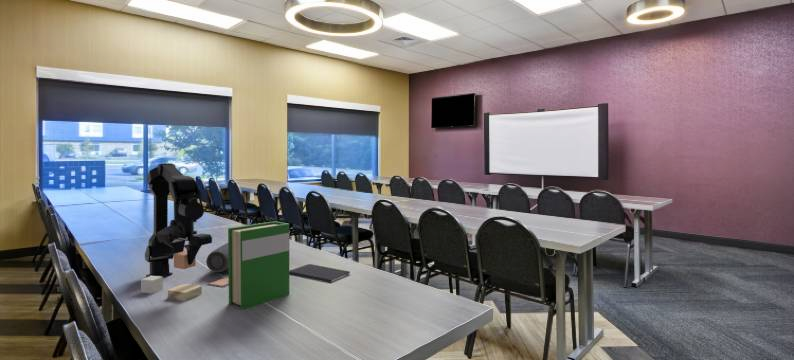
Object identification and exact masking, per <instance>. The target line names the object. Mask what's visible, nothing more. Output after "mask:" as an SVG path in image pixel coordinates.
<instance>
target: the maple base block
mask: <svg viewBox="0 0 794 360" xmlns="http://www.w3.org/2000/svg"><path fill="white" fill-rule="evenodd" d="M202 289H203V287H202V285H197V284H196V285H195V284H190V283H184V284H180V285H177V286H175V287H173V288H169V289H167V298H168V299H172V300H177V301H183V302H186V301H189V300H190V299H193V298H195V297H198V296H201V295H202V292H203V290H202Z"/></svg>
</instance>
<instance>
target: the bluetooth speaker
mask: <svg viewBox="0 0 794 360" xmlns="http://www.w3.org/2000/svg"><path fill="white" fill-rule="evenodd" d="M205 261H206V266H207V268H208V269H209V270H210V271H211V272H213V273H221V272H227V271H228V272H229V266H228V242H227V243H225V244H222V245H220V246H219V247H217V248H216V249H214V250H213V251H211V252H210V253H209V254H208V255H207V257H206V260H205Z"/></svg>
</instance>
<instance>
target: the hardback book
mask: <svg viewBox="0 0 794 360" xmlns="http://www.w3.org/2000/svg"><path fill="white" fill-rule="evenodd" d="M227 230H228V231H227V235H228V238H227V240H228V241H227V243H228V266H229V270H228V280H229V285H228V305H230V306H231V305H234V304H236V305H238V306H240V310H242V311H243V310H246V309H249V308H251V307H255V306H258V305H261V304H264V303H268V302H270V301H274V300H276V299H279V298H282V297H285V296H289V295H290V274H289V271H290V223H286V222H283V221H282V222H280V221H268V222H267V221H266V222H261V223H260V222H259V223H255V224H248V225H241V226H234V227H228V228H227Z"/></svg>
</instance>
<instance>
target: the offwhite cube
mask: <svg viewBox="0 0 794 360" xmlns="http://www.w3.org/2000/svg"><path fill="white" fill-rule="evenodd" d="M163 278H164V277H163V276H149V277H147V276H145V278H141V279H140V285H141V286H140V289H141V290H140V291H141V294H142V293H143V294H155V293H157V292H160V291H162V290H163V289H164V288H163V287H164V283H163V282H164V281H163V280H164V279H163Z"/></svg>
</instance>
